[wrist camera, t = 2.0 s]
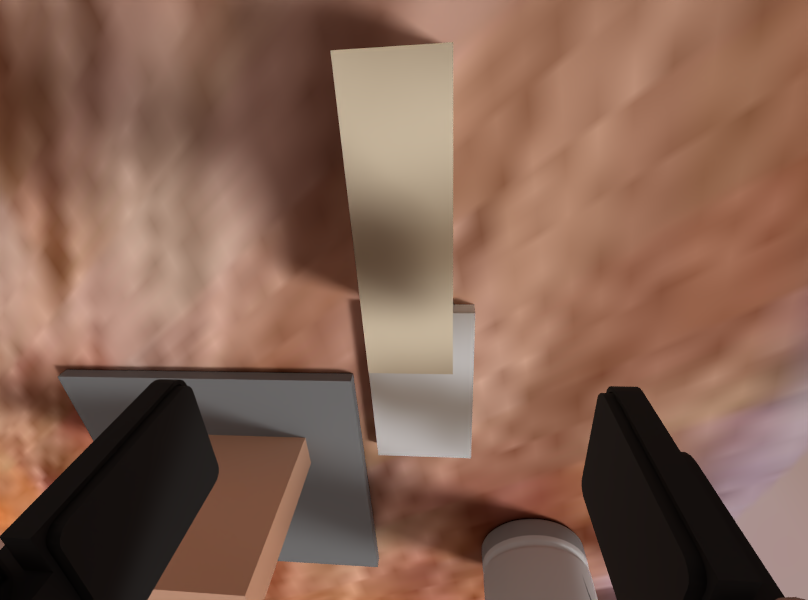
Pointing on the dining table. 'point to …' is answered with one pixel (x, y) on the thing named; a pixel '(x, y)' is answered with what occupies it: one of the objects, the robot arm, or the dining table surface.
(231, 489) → the tile
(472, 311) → the beige rectangular bar
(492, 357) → the dining table surface
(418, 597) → the dining table surface
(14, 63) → the dining table surface
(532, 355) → the dining table surface
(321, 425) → the grey square plate
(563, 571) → the travel mug
